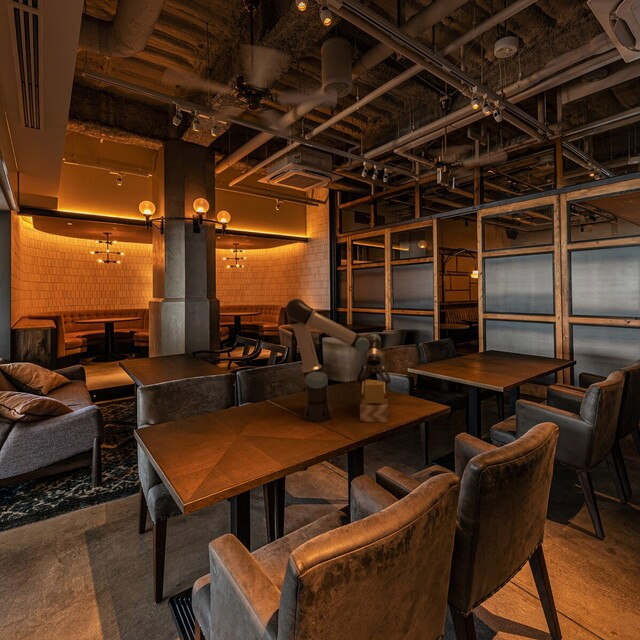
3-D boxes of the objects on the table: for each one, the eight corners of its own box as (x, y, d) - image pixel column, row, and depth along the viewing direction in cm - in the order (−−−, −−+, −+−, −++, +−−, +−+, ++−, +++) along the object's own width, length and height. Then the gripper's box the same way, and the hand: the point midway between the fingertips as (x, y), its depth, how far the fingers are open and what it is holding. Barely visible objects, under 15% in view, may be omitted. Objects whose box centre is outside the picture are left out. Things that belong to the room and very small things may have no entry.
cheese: (383, 397, 201) (383, 379, 200) (384, 403, 190) (384, 384, 189) (364, 397, 202) (363, 379, 202) (363, 403, 192) (363, 384, 191)
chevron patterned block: (360, 421, 192) (359, 406, 191) (362, 412, 206) (361, 398, 205) (387, 422, 189) (387, 406, 189) (388, 413, 203) (387, 399, 203)
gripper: (395, 362, 209) (396, 397, 194) (354, 362, 213) (352, 397, 199) (395, 354, 203) (396, 390, 189) (352, 354, 207) (350, 389, 193)
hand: (373, 393), depth 194 cm, fingers open, 10 cm apart
